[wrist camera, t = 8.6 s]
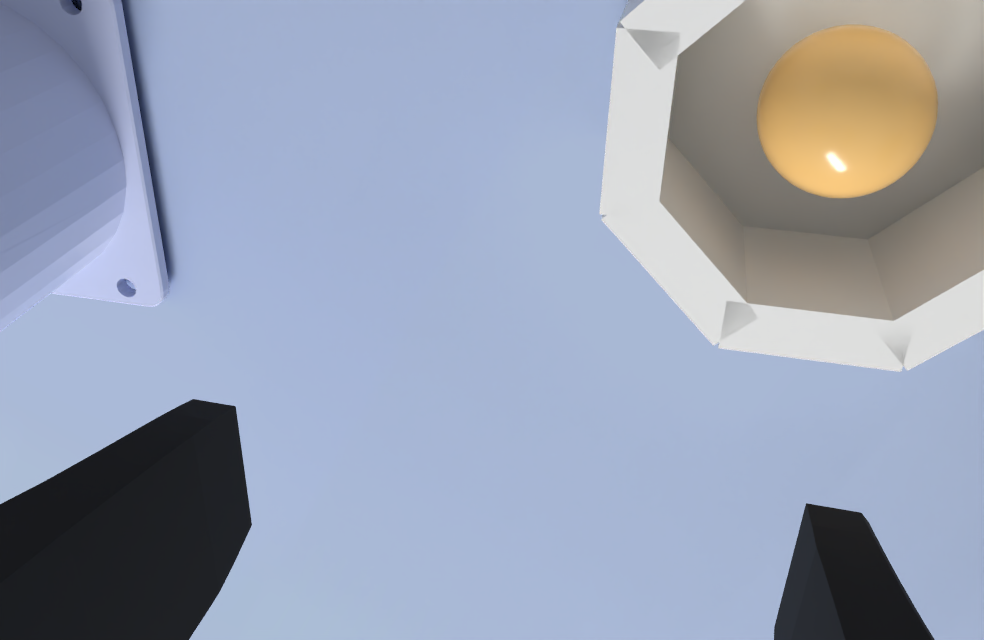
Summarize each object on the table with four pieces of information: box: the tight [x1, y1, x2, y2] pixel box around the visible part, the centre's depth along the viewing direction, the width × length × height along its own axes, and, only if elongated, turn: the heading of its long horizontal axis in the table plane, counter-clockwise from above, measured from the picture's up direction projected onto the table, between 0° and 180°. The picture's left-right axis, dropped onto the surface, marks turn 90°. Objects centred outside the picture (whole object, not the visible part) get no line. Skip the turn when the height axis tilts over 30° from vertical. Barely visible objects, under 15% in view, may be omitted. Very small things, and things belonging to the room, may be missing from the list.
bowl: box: [599, 0, 984, 372], centre depth 17 cm, size 8×8×4 cm
